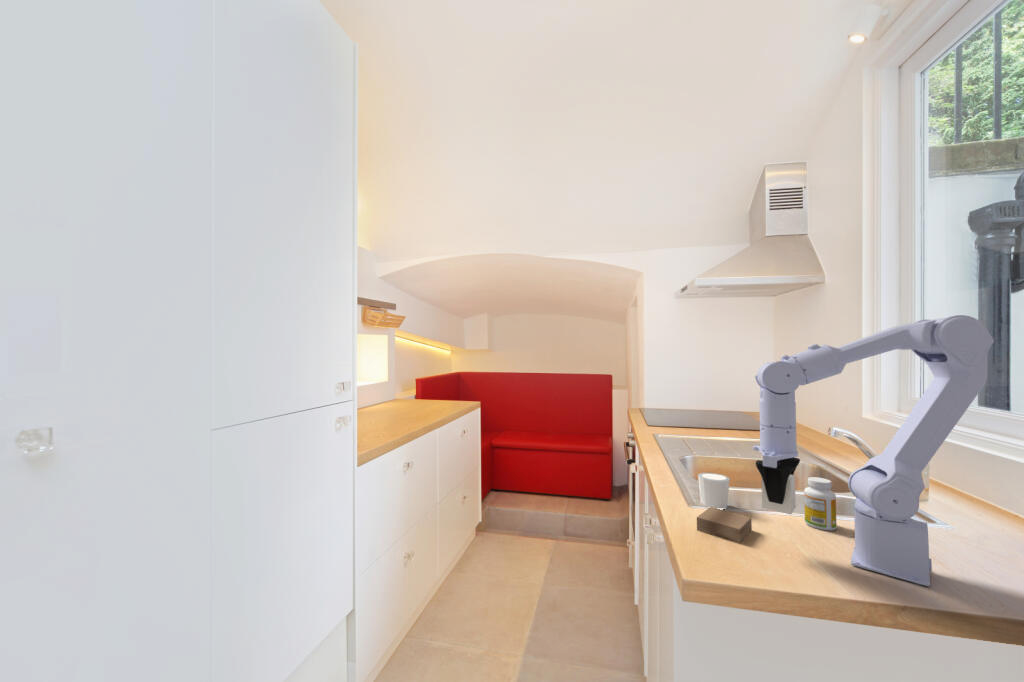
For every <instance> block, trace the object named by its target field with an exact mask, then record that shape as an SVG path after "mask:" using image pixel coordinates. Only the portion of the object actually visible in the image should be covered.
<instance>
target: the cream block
mask: <svg viewBox="0 0 1024 682" xmlns="http://www.w3.org/2000/svg"><path fill="white" fill-rule="evenodd" d="M796 507H797V506H796V475H795V474H794V475H790V476H789V478H788V481H787V485H786V491H785V497H784V501H783V504H778V503H774V502H769V500H768V497H767V493H766V489H765V485H764V481H763V478H762V477H761V509H766V510H771V511H774V512H778V513H783V514H787V515H792V514H793V512H794V511H795V510H796Z"/></svg>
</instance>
